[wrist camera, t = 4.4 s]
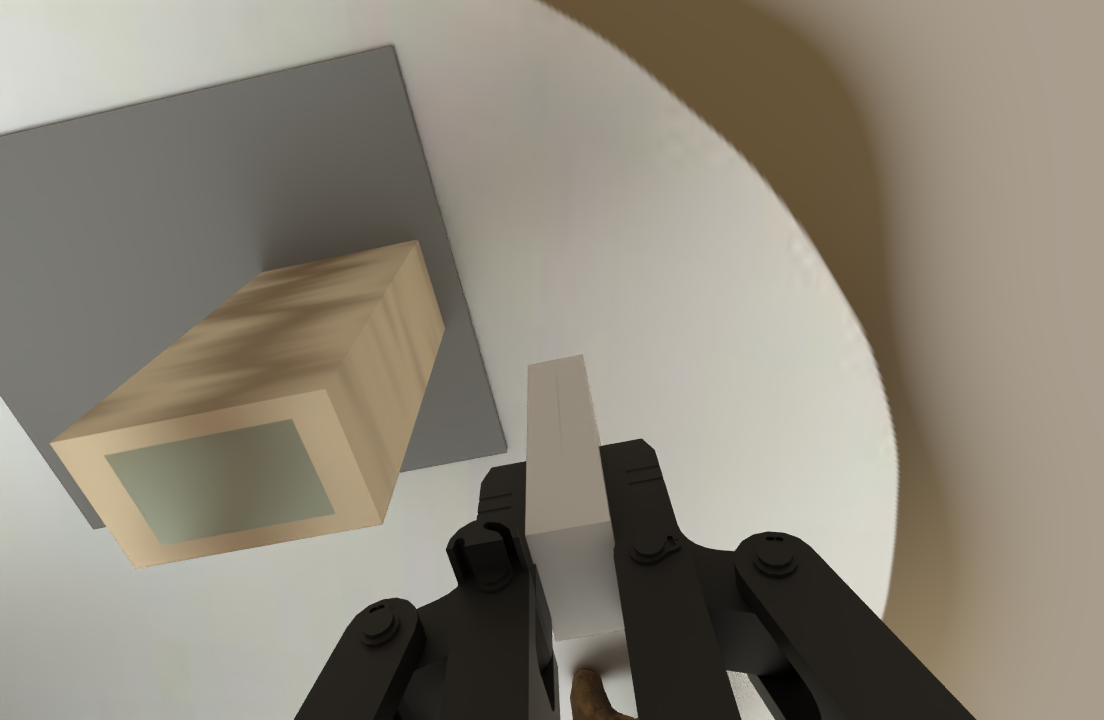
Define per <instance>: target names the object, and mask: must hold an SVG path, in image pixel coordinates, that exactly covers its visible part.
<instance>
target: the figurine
mask: <svg viewBox="0 0 1104 720" xmlns="http://www.w3.org/2000/svg"><path fill="white" fill-rule="evenodd" d="M570 701H571V708H572V715H573V720H639V718H635V719H634V718H633V717H630V716H627V715H623V714H621V713H619V712H617V711H616V710H614V709H613V708H612V707H611V704H610V702H609V700H608V698H607V695H606V692H605V691H604V687H603V683H602V680H601V677H600V675H599V674H597V673H596V672H594V671H591V670H588V669H582V670H580V671H579V672H578V673H577V674H576V675H575V676H574V678H573V681H572V690H571V695H570Z"/></svg>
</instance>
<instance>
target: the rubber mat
mask: <svg viewBox="0 0 1104 720" xmlns="http://www.w3.org/2000/svg"><path fill="white" fill-rule="evenodd" d="M417 239H418V241H419V244H420V248H421V251H422V254H423V257H424V261H425V264H426V267H427V270H428V274H429V277H430V280H431V283H432V287H433V290H434V293H435V297H436V300H437V303H438V306H439V310H440V313H441V316H442V319H443V323H444V326H445V331H444V334H443V337H442V340H441V343H440V346H439V349H438V352H437V356H436V359H435V362H434V365H433V368H432V371H431V374H430V377H429V381H428V384H427V387H426V390H425V393H424V396H423V399H422V403H421V406H420V409H419V412H418V415H417V418H416V421H415V424H414V428H413V431H412V434H411V437H410V440H409V443H408V446H407V449H406V453H405V456H404V459H403V462H402V465H401V468H400V471H399V472H405V471H410V470H416V469H421V468H426V467H432V466H437V465H443V464H448V463H453V462H459V461H464V460H469V459H475V458H480V457H486V456H491V455H496V454H502V453H507V445H506V442H505V438H504V435H503V431H502V428H501V424H500V421H499V417H498V414H497V410H496V407H495V403H494V400H493V396H492V393H491V389H490V386H489V382H488V378H487V375H486V371H485V368H484V364H483V361H482V357H481V354H480V350H479V347H478V343H477V340H476V336H475V333H474V329H473V326H472V322H471V319H470V315H469V312H468V308H467V305H466V301H465V298H464V294H463V291H462V287H461V284H460V280H459V276H458V273H457V269H456V266H455V262H454V259H453V255H452V252H451V248H450V245H449V241H448V238H447V234H446V231H445V227H444V224H443V220H442V217H441V213H440V210H439V206H438V203H437V199H436V196H435V192H434V189H433V185H432V182H431V178H430V174H429V171H428V167H427V164H426V160H425V157H424V153H423V150H422V146H421V143H420V139H419V136H418V132H417V129H416V125H415V122H414V118H413V115H412V111H411V108H410V104H409V101H408V97H407V94H406V90H405V87H404V83H403V80H402V76H401V72H400V69H399V65H398V62H397V58H396V55H395V51H394V48H393V46H389V47H384V48H380V49H376V50H371V51H367V52H363V53H358V54H354V55H350V56H345V57H341V58H337V59H332V60H328V61H324V62H320V63H315V64H311V65H307V66H302V67H298V68H294V69H289V70H285V71H281V72H276V73H272V74H268V75H263V76H259V77H255V78H251V79H246V80H242V81H238V82H233V83H229V84H225V85H220V86H216V87H212V88H207V89H203V90H199V91H195V92H190V93H186V94H182V95H177V96H173V97H169V98H164V99H160V100H156V101H151V102H147V103H143V104H138V105H134V106H130V107H126V108H121V109H117V110H113V111H108V112H104V113H100V114H95V115H91V116H87V117H82V118H78V119H74V120H69V121H65V122H61V123H57V124H52V125H48V126H44V127H39V128H35V129H31V130H26V131H22V132H18V133H13V134H9V135H5V136H0V396H1V397H2V399H3V400H4V402H5V403H6V405H7V406H8V407H9V409H10V410H11V412H12V413H13V415H14V416H15V417H16V419H17V420H18V422H19V423H20V425H21V426H22V428H23V429H24V430H25V432H26V433H27V435H28V436H29V438H30V439H31V440H32V442H33V443H34V445H35V446H36V448H37V449H38V450H39V452H40V453H41V455H42V456H43V458H44V459H45V461H46V462H47V463H48V465H49V466H50V468H51V469H52V471H53V472H54V473H55V475H56V476H57V478H58V479H59V481H60V482H61V484H62V485H63V486H64V488H65V489H66V491H67V492H68V494H69V495H70V496H71V498H72V499H73V501H74V502H75V504H76V505H77V507H78V508H79V509H80V511H81V512H82V514H83V515H84V517H85V518H86V519H87V521H88V522H89V524H90V525H91V527H92V528H93V529H98V528H103V527H106V525H105V524H104V522H103V521H102V519H101V518H100V516H99V515H98V514H97V512H96V511H95V509H94V508H93V506H92V505H91V503H90V502H89V500H88V499H87V497H86V496H85V494H84V493H83V492H82V490H81V489H80V487H79V486H78V484H77V483H76V481H75V480H74V478H73V477H72V475H71V474H70V473H69V471H68V470H67V468H66V467H65V465H64V464H63V462H62V461H61V459H60V458H59V456H58V455H57V453H56V452H55V451H54V449H53V448H52V446H51V445H50V442H51V441H53V440H54V439H55V438H56V437H58V436H59V435H60V434H61V433H62V432H64V431H65V430H66V429H67V428H69V427H70V426H71V425H72V424H74V423H75V422H76V421H77V420H79V419H80V418H81V417H82V416H84V415H85V414H86V413H87V412H89V411H90V410H91V409H92V408H94V407H95V406H96V405H97V404H98V403H100V402H101V401H102V400H103V399H105V398H106V397H107V396H108V395H110V394H111V393H112V392H113V391H115V390H116V389H117V388H118V387H120V386H121V385H122V384H123V383H125V382H126V381H127V380H128V379H130V378H131V377H132V376H133V375H135V374H136V373H137V372H138V371H139V370H141V369H142V368H143V367H144V366H146V365H147V364H148V363H149V362H151V361H152V360H153V359H154V358H156V357H157V356H158V355H159V354H161V353H162V352H163V351H164V350H166V349H167V348H168V347H169V346H171V345H172V344H173V343H174V342H176V341H177V340H178V339H179V338H180V337H182V336H183V335H184V334H185V333H187V332H188V331H189V330H190V329H192V328H193V327H194V326H195V325H197V324H198V323H199V322H200V321H202V320H203V319H204V318H205V317H207V316H208V315H209V314H210V313H212V312H213V311H214V310H215V309H216V308H218V307H219V306H220V305H221V304H223V303H224V302H225V301H226V300H228V299H229V298H230V297H231V296H233V295H234V294H235V293H236V292H238V291H239V290H240V289H241V288H243V287H244V286H245V285H246V284H248V283H249V282H250V281H251V280H253V279H254V278H255V277H256V276H257V275H259V274H260V273H261V272H265V271H270V270H275V269H280V268H284V267H289V266H294V265H299V264H303V263H308V262H313V261H318V260H322V259H327V258H332V257H337V256H341V255H346V254H351V253H356V252H360V251H365V250H370V249H375V248H379V247H384V246H389V245H394V244H398V243H403V242H408V241H413V240H417Z"/></svg>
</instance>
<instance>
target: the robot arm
mask: <svg viewBox="0 0 1104 720" xmlns="http://www.w3.org/2000/svg"><path fill="white" fill-rule="evenodd" d="M479 500H480V502H479V505H478V515H477V520H476V521H473V522H471V523H469V524H467V525H466V526H464V527H462V528H461V529H459V530H458V531H457V532H456V533H455V534H454V535H453V537H452V538H451V539H450V541H449V543H448V545H447V548H446V552H447V554H448V557H449V560H450V563H451V565H452V568H453V571H454V573H455V576H456V579H457V581H458V587H456V588H455V589H454V590H453V591H451V592H450V593H449V594H447V595H445V596H444V597H442V598H440V599H438V600H436V601H434V602H431V603H429V604H427V605H425V606H422V607H420V608H418V609H416V608H415V606H413V605H412V604H411V603H410V602H409V601H408V600H404V599H400V598H390V599H383V600H381V601H378V602H376V603H374V604H372V605H369V606H368V607H367V608H365V609H364V610H363V611H361V612H360V613H359V614H357V615H356V616H355V618H354V619H353V620H352V622H351V623H350V624H349V625H348V627H347V628H346V630H345V632H344V633H343V635H342V637H341V639H340V640H339V642H338V644H337V646H336V647H335V649H334V651H333V652H332V654H331V656H330V658H329V659H328V661H327V663H326V665H325V666H324V668H323V670H322V672H321V673H320V675H319V677H318V679H317V680H316V682H315V684H314V685H313V687H312V689H311V691H310V692H309V694H308V696H307V698H306V699H305V701H304V703H303V705H302V706H301V708H300V710H299V712H298V713H297V715H296V717H295V718H294V720H560V704H559V681H558V666H557V662H556V658H555V655H554V651H553V646H552V629H553V633H554V636H555V640H556V641H561V640H567V639H573V638H579V637H585V636H591V635H598V634H604V633H610V632H616V631H622V630H625V634H626V641H627V647H628V654H629V660H630V667H631V673H632V680H633V686H634V692H635V699H636V705H637V712H638V718H639V720H741V717H740V714H739V710H738V707H737V704H736V701H735V697H734V694H733V691H732V688H731V685H730V681H729V678H728V675H727V672H726V670H728V671H735V672H742V673H747V675H748V678H749V679H750V681H751V683H752V684H753V686H754V687H755V689H756V690H757V692H758V694H759V695H760V697H761V698H762V700H763V701H764V703H765V705H766V706H767V708H768V709H769V711H770V712H771V714H772V715H773V717H774V719H775V720H976V719H975V718H974V717H973V716H972V715H971V714H970V713H969V712H968V710H967V709H966V708H965V707H964V706H963V705H962V704H961V703H960V702H959V701H958V700H957V699H956V698H955V697H954V696H953V695H952V694H951V693H950V692H949V691H948V690H947V689H946V688H945V686H944V685H943V684H942V683H941V682H940V681H939V680H938V679H937V678H936V677H935V676H934V675H933V674H932V673H931V672H930V671H929V670H928V669H927V668H926V667H925V666H924V665H923V663H922V662H921V661H920V660H919V659H918V658H917V657H916V656H915V655H914V654H913V653H912V652H911V651H910V650H909V649H908V648H907V647H906V646H905V645H904V644H903V643H902V642H901V641H900V640H899V639H898V637H897V636H896V635H895V634H894V633H893V632H892V631H891V630H890V629H889V628H888V627H887V626H886V625H885V624H884V623H883V622H882V621H881V620H880V619H879V618H878V616H877V615H876V614H875V613H874V612H873V611H872V610H871V609H870V608H869V607H868V606H867V605H866V604H865V603H864V602H863V601H862V600H861V599H860V598H859V597H858V596H857V595H856V593H855V592H854V591H853V590H852V589H851V588H850V587H849V586H848V585H847V584H846V583H845V582H844V581H843V580H842V579H841V578H840V577H839V576H838V575H837V574H836V573H835V572H834V571H833V569H832V568H831V567H830V566H829V565H828V564H827V563H826V562H825V561H824V560H823V559H822V558H821V557H820V556H819V555H818V554H817V553H816V552H815V551H814V550H813V549H812V548H811V547H810V546H809V545H808V544H806V543H805V542H804V541H802V540H801V539H800V538H798V537H795V536H792V535H789V534H786V533H781V532H763V533H759V534H754V535H752V536H750V537H748V538H747V539H745V540H743V541H742V542H741V543H740V545H739V546H738V547H737V549H736V550H735V551H724V550H715V549H710V548H705V547H703V546H700V545H697V544H695V543H694V542H692V541H690V540H689V539H687V538H686V537H685V535H684V534H683V533H682V532H681V531H680V529H679V527H678V525H677V521H676V518H675V515H674V512H673V508H672V505H671V502H670V498H669V495H668V492H667V489H666V485H665V482H664V480H663V475H662V472H661V469H660V466H659V462H658V459H657V456H656V453H655V450H654V449H653V448H652V447H651V446H650V445H648V444H647V443H646V442H645V441H644V440H643V439H636V440H631V441H626V442H620V443H615V444H609V445H604V446H601V443H600V437H599V432H598V428H597V423H596V418H595V413H594V408H593V403H592V398H591V393H590V388H589V383H588V378H587V373H586V368H585V363H584V358H583V355H578V356H573V357H568V358H562V359H557V360H552V361H547V362H542V363H537V364H531V365H528V401H527V459H526V461H525V462H520V463H514V464H509V465H503V466H498V467H492V468H491V469H490V471H489V472H488V474H487V475H486V477H485V478H484V480H483V481H482V483H481V489H480V497H479Z"/></svg>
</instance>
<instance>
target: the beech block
mask: <svg viewBox="0 0 1104 720" xmlns="http://www.w3.org/2000/svg"><path fill="white" fill-rule="evenodd" d="M444 331H445V326H444V323H443V319H442V316H441V313H440V310H439V306H438V303H437V300H436V297H435V293H434V290H433V287H432V283H431V280H430V277H429V274H428V270H427V267H426V264H425V261H424V257H423V254H422V251H421V248H420V244H419V241H418V239H417V240H413V241H408V242H403V243H398V244H394V245H389V246H384V247H379V248H375V249H370V250H365V251H360V252H356V253H351V254H346V255H341V256H337V257H332V258H327V259H322V260H318V261H313V262H308V263H303V264H299V265H294V266H289V267H284V268H280V269H275V270H270V271H265V272H261V273H260V274H259V275H257V276H256V277H255V278H254V279H253V280H251V281H250V282H249V283H248V284H246V285H245V286H244V287H243V288H241V289H240V290H239V291H238V292H236V293H235V294H234V295H233V296H231V297H230V298H229V299H228V300H226V301H225V302H224V303H223V304H221V305H220V306H219V307H218V308H216V309H215V310H214V311H213V312H212V313H210V314H209V315H208V316H207V317H205V318H204V319H203V320H202V321H200V322H199V323H198V324H197V325H195V326H194V327H193V328H192V329H190V330H189V331H188V332H187V333H185V334H184V335H183V336H182V337H180V338H179V339H178V340H177V341H176V342H174V343H173V344H172V345H171V346H169V347H168V348H167V349H166V350H164V351H163V352H162V353H161V354H159V355H158V356H157V357H156V358H154V359H153V360H152V361H151V362H149V363H148V364H147V365H146V366H144V367H143V368H142V369H141V370H139V371H138V372H137V373H136V374H135V375H133V376H132V377H131V378H130V379H128V380H127V381H126V382H125V383H123V384H122V385H121V386H120V387H118V388H117V389H116V390H115V391H113V392H112V393H111V394H110V395H108V396H107V397H106V398H105V399H103V400H102V401H101V402H100V403H98V404H97V405H96V406H95V407H94V408H92V409H91V410H90V411H89V412H87V413H86V414H85V415H84V416H82V417H81V418H80V419H79V420H77V421H76V422H75V423H74V424H72V425H71V426H70V427H69V428H67V429H66V430H65V431H64V432H62V433H61V434H60V435H59V436H58V437H56V438H55V439H54V440H53V441H51V442H50V445H51V446H52V448H53V449H54V451H55V452H56V453H57V455H58V456H59V458H60V459H61V461H62V462H63V464H64V465H65V467H66V468H67V470H68V471H69V473H70V474H71V475H72V477H73V478H74V480H75V481H76V483H77V484H78V486H79V487H80V489H81V490H82V492H83V493H84V494H85V496H86V497H87V499H88V500H89V502H90V503H91V505H92V506H93V508H94V509H95V511H96V512H97V514H98V515H99V516H100V518H101V519H102V521H103V522H104V524H105V525H106V527H107V528H108V530H109V531H110V533H111V534H112V536H113V537H114V538H115V540H116V541H117V543H118V544H119V546H120V547H121V549H122V550H123V552H124V553H125V555H126V556H127V558H128V559H129V560H130V562H131V563H132V565H133V566H134V568H135V569H138V568H143V567H149V566H155V565H160V564H166V563H171V562H177V561H182V560H188V559H193V558H199V557H204V556H210V555H215V554H221V553H227V552H232V551H238V550H243V549H249V548H254V547H260V546H265V545H271V544H276V543H282V542H288V541H293V540H299V539H304V538H310V537H315V536H321V535H326V534H332V533H337V532H343V531H348V530H354V529H360V528H365V527H371V526H376V525H382V524H383V522H384V518H385V515H386V512H387V509H388V506H389V503H390V500H391V496H392V493H393V490H394V487H395V484H396V481H397V478H398V475H399V471H400V468H401V465H402V462H403V459H404V456H405V453H406V449H407V446H408V443H409V440H410V437H411V434H412V431H413V428H414V424H415V421H416V418H417V415H418V412H419V409H420V406H421V403H422V399H423V396H424V393H425V390H426V387H427V384H428V381H429V377H430V374H431V371H432V368H433V365H434V362H435V359H436V356H437V352H438V349H439V346H440V343H441V340H442V337H443V334H444Z"/></svg>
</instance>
